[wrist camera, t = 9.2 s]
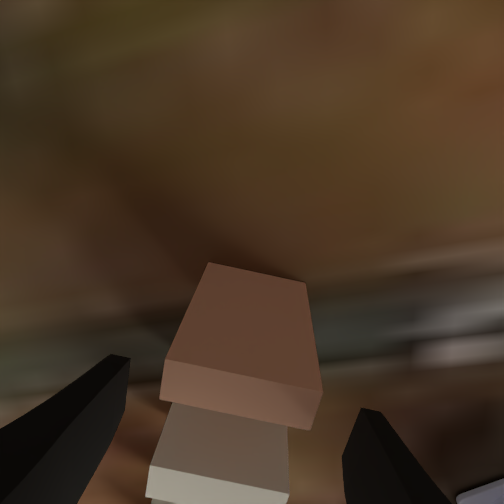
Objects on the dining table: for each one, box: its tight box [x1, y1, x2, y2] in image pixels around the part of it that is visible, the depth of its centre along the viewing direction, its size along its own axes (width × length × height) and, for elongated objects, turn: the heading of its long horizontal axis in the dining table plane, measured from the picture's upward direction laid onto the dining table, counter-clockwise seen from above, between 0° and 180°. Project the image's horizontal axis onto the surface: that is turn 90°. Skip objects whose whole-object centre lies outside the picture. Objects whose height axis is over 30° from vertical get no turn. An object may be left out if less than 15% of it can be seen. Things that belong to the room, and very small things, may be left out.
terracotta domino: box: [159, 262, 323, 431], centre depth 16 cm, size 2×5×8 cm, turn 78°
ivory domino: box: [145, 402, 289, 504], centre depth 18 cm, size 2×5×8 cm, turn 78°
